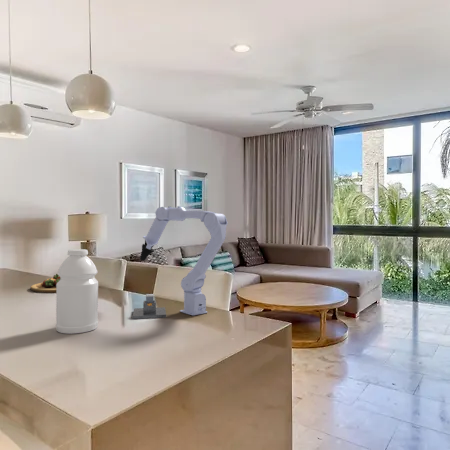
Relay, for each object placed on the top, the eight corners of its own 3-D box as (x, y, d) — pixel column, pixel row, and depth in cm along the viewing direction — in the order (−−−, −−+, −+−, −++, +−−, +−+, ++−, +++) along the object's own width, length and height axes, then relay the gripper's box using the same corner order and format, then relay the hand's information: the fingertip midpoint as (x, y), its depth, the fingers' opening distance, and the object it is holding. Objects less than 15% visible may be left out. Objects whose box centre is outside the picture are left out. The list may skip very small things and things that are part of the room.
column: (153, 310, 153) (153, 294, 153) (153, 312, 150) (153, 295, 150) (145, 310, 153) (146, 294, 153) (145, 312, 150) (145, 295, 150)
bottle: (57, 325, 135) (58, 248, 135) (97, 321, 139) (98, 248, 139) (54, 336, 121) (55, 251, 121) (98, 332, 126) (99, 250, 126)
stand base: (165, 310, 159) (165, 298, 159) (166, 317, 147) (166, 304, 146) (134, 311, 157) (134, 299, 157) (132, 319, 144) (132, 305, 144)
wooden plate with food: (36, 285, 222) (36, 271, 222) (92, 283, 232) (92, 270, 232) (24, 295, 192) (24, 279, 192) (89, 292, 201) (89, 277, 201)
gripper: (149, 223, 170) (137, 247, 173) (145, 232, 157) (132, 259, 160) (163, 229, 172) (151, 253, 175) (160, 239, 158) (147, 265, 161)
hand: (143, 256), depth 167 cm, fingers open, 7 cm apart
